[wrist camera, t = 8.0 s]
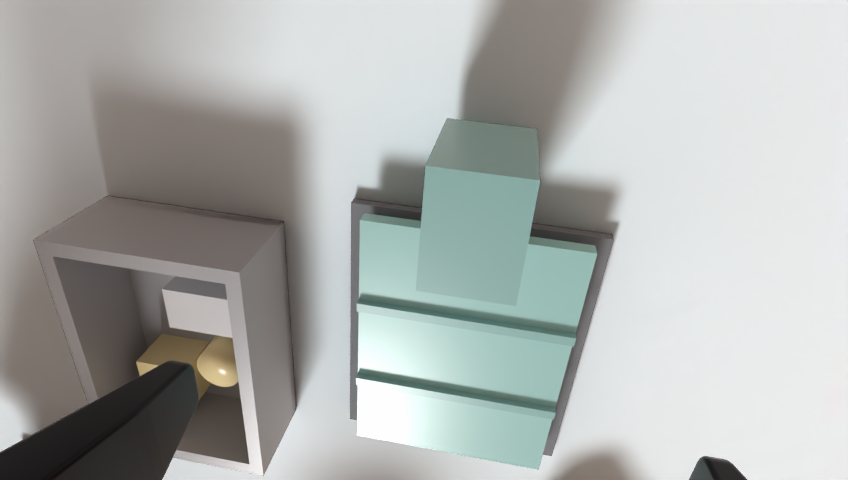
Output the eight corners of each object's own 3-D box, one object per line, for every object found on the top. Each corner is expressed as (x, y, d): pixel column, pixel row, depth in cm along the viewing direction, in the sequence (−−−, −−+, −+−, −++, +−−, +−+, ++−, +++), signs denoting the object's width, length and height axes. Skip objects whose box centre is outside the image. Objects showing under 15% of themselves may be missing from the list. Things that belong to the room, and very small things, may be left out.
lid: (538, 448, 25) (541, 553, 21) (363, 416, 26) (331, 510, 22) (620, 133, 18) (653, 195, 13) (370, 104, 19) (322, 152, 14)
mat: (551, 449, 26) (551, 456, 25) (352, 412, 27) (350, 418, 27) (612, 234, 20) (613, 239, 20) (354, 198, 21) (351, 203, 21)
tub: (296, 409, 27) (263, 475, 24) (152, 382, 28) (101, 443, 25) (283, 221, 22) (239, 272, 19) (107, 195, 23) (32, 240, 19)
